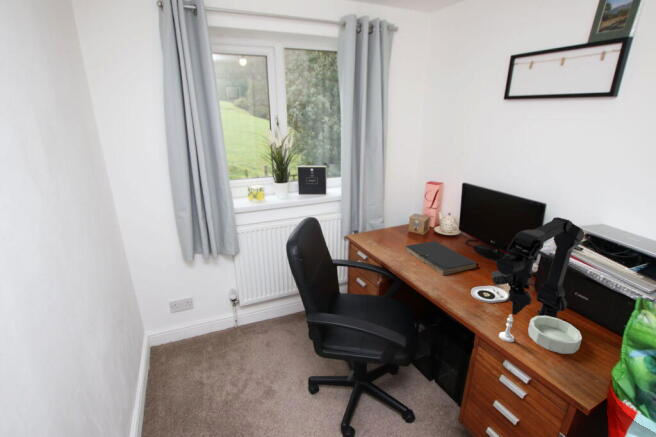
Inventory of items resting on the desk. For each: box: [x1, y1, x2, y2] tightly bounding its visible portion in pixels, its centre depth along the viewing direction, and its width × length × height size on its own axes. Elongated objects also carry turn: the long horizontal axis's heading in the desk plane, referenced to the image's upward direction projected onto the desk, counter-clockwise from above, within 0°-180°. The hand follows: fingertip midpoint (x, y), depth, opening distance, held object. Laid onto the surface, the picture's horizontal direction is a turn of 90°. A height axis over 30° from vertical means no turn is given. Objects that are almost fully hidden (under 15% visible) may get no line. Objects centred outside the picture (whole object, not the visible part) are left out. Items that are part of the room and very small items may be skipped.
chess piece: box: [498, 314, 515, 343], centre depth 113 cm, size 5×5×10 cm
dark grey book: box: [405, 240, 479, 276], centre depth 178 cm, size 33×4×24 cm
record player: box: [470, 284, 510, 304], centre depth 142 cm, size 12×3×20 cm
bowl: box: [528, 315, 583, 355], centre depth 113 cm, size 15×15×4 cm
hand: (513, 307), depth 111 cm, fingers open, 9 cm apart
